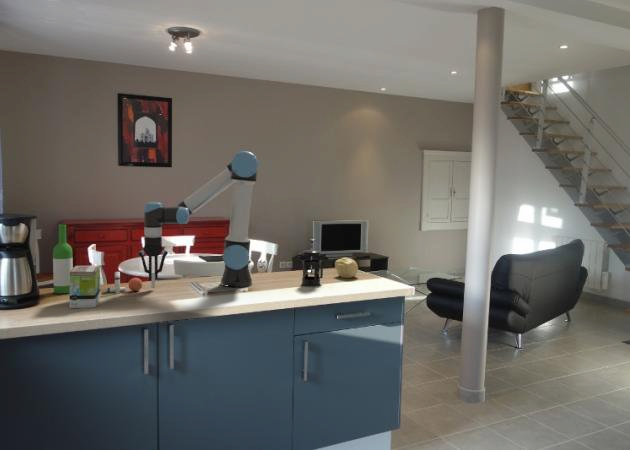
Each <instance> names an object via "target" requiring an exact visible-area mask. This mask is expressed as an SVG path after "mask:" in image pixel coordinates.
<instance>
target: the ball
mask: <svg viewBox="0 0 630 450" xmlns="http://www.w3.org/2000/svg"><path fill="white" fill-rule="evenodd" d="M142 288H143V281H142V280H141V279H140V278H139V277H133V278H131V279H130V280H129V282H128V289H130V291H133V292H138V291H140V290H141V289H142Z"/></svg>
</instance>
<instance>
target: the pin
mask: <svg viewBox="0 0 630 450" xmlns="http://www.w3.org/2000/svg"><path fill="white" fill-rule="evenodd" d="M114 287H115V292H114V294H115V295H118V294H120V293H121V292H120V287H121V273H120V274H115V273H114Z"/></svg>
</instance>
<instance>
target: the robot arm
mask: <svg viewBox="0 0 630 450" xmlns="http://www.w3.org/2000/svg"><path fill="white" fill-rule="evenodd" d="M258 169H259V159H258V158H257V156H256V155H255V154H254V153H253V152H251V151H247V150H242V151H239V152H236V154H234V156H233V157H232V160H231V161H230V163H228V164H227V165H226V166H225V169H224V170H223V171H221V172H220V173H218V174H217V175H216V176H215V177H213V178H212V179H211V180H209V181H208V182H207V183H205V184H204V185H202V186H201V187H200V188H198V189H197V190H196V191H194V192H193V193H192V194H191V195H189V196H187V197H186V198H185V199H183V201H181V202H179V203H178V204H177V205H175V206H171V207H170V206H163V205H162V202H156V201H155V202H154V201H153V202H151V201H149V202H148V201H147V202H146V203H145V204H144V212H143V215H144V222H143V223H144V228H143V229H144V230H143V231H144V238H143V239H144V246H143V249H141V250H140V251H138V255H139V256H140V259H141V262H142V266H143V270H144V272H145V274H148V281H150V282H151V283H150V284H151V285H150V288H151V289H155V288H156V281H158V280H159V278H158V274H159V273H162V271H163V268H164V264H165V260H166V257H167V255H168V253H169V252H168V251H167V250H165V249H164V247H163V245H162V244H163V238H162V234H163V224H171V225H175V224H176V225H183V224H184V225H186V224H188V223H189V220H190V216H192V215H193V214H194V213H196V211H197V210H199V209H201V208H203V206H205V205H206V204H208V203H209V202H211V200H213V199H214V198H216V197H217V196H219V194H221V193H222V192H224V191H225V190H227V188H229V187H230V186H232V185H233V188H232V198H231V210H230V220H229V230H228V235H227V236H226V237H225V238H224V248H223V253H222V261H223V263H224V270H223V274H222V276H221V279H220V285H221V284H223V285H228V286H240V287H239V288H245V287H246V288H247V287H250V286H252V285H253V279H252V276H251V272H250V268H249V266H250V265H249V263H250V262H249V261H250V249H251V248H250V247H251V239H249V237H248V236H249V225H250V213H251V212H250V211H251V204H252V203H251V202H252V195H253V194H252V192H253V186H254V185H255V184H257V177H258V176H257V174H258ZM145 254H146V255H147V256H148V267H147V263H146V259H145ZM160 254H162V255H161V260H160V264H159V265H158V263H159V262H158V260H159V259H158V257H159V256H160ZM153 257H154V272H153V265H152V264H153V262H152V261H153ZM158 266H159V268H158Z"/></svg>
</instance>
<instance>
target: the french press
mask: <svg viewBox="0 0 630 450" xmlns="http://www.w3.org/2000/svg"><path fill="white" fill-rule="evenodd" d="M307 240H308V241H310V243H311V244H314V241H317V239H315V238H308V239H307ZM321 252H322V251H321V250H315V249H306V250H303V251H302V253H303V255H304V256H306V255H308V257H310V258H311V259H303V260H302V277H301V285H302V286H304V287H320V286H321V279H323V275H324V274H323V273H324V261H323V260H318V259H313V258H315V257H317V258H319V257H320V256H321ZM309 266H310V270H309ZM312 266H314V268H313V267H312ZM313 269H314V270H313ZM310 275H311V276H310Z"/></svg>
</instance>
